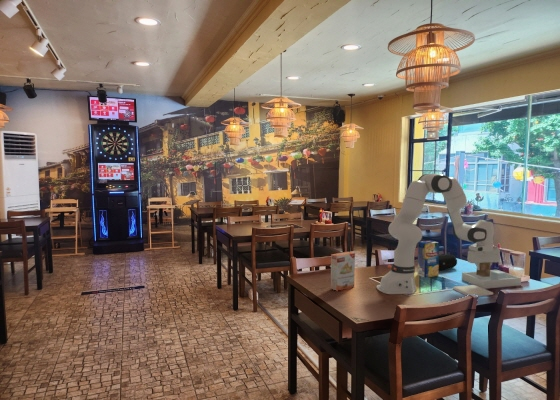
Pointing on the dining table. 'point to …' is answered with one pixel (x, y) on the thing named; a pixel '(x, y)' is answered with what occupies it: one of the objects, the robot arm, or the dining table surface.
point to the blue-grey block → (497, 275)
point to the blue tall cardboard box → (428, 258)
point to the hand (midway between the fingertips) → (483, 269)
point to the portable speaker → (447, 261)
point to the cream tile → (472, 290)
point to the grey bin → (488, 283)
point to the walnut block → (484, 270)
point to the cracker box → (342, 270)
